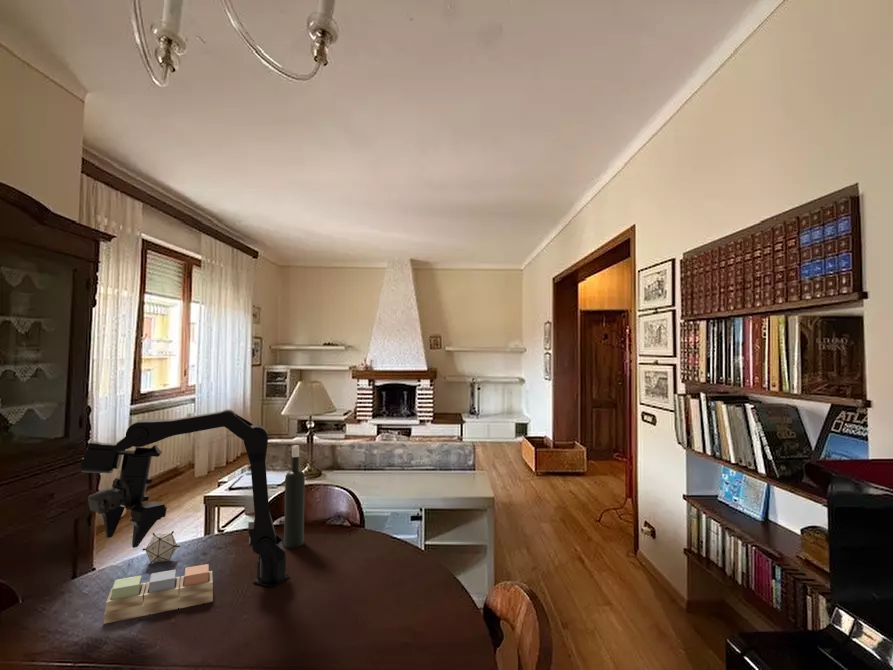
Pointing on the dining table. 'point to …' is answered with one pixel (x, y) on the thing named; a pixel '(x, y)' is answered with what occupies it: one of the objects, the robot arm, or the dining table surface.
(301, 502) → the wine bottle
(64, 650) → the dining table surface
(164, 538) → the game die
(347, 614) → the dining table surface
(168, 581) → the slate button
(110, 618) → the console
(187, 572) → the terracotta button
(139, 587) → the sage button
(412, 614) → the dining table surface
